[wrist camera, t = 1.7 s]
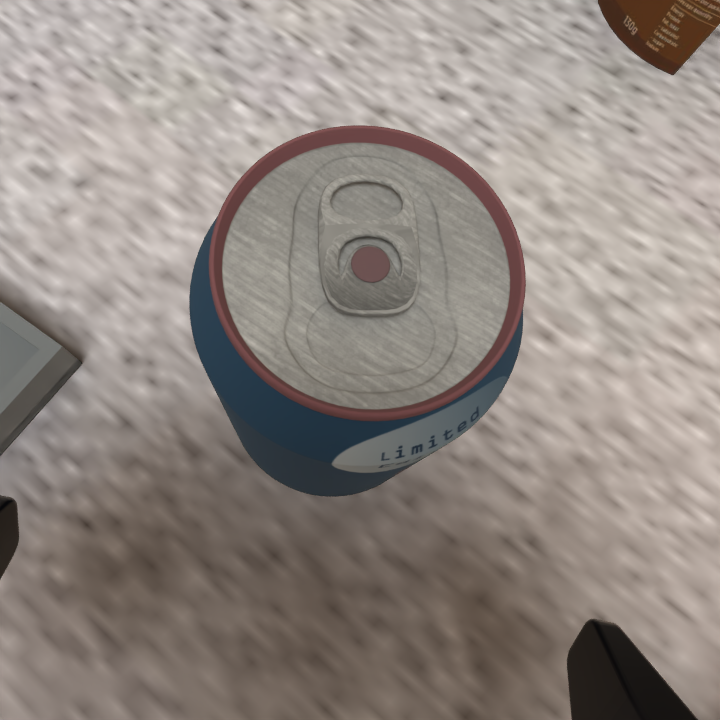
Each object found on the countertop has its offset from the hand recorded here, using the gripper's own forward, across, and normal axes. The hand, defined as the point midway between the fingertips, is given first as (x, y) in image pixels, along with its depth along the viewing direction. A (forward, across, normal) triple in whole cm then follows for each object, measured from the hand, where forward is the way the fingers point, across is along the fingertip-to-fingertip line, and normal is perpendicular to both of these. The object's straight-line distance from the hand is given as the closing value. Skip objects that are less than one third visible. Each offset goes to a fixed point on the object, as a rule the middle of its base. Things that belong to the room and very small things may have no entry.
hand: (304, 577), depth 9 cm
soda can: (+12, 0, +5) cm, 13 cm away
